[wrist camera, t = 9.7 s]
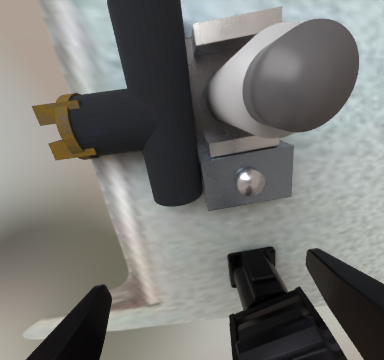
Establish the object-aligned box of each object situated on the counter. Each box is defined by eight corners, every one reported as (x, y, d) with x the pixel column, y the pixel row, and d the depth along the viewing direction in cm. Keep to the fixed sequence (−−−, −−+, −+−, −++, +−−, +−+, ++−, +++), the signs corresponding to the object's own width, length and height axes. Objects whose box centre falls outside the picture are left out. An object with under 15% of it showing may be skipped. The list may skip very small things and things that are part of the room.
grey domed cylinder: (262, 109, 17) (376, 118, 7) (216, 130, 18) (260, 164, 8) (249, 55, 15) (376, -38, 5) (198, 79, 16) (225, 36, 6)
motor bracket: (271, 180, 21) (295, 200, 16) (203, 192, 21) (209, 215, 17) (272, 23, 15) (309, -10, 11) (178, 41, 15) (177, 16, 11)
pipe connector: (77, 221, 16) (-25, 0, 10) (101, 194, 21) (42, 34, 15) (206, 202, 16) (180, -26, 10) (199, 179, 21) (179, 16, 15)
